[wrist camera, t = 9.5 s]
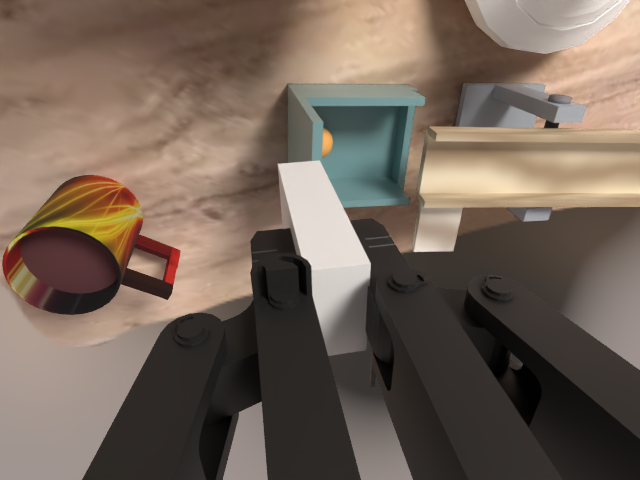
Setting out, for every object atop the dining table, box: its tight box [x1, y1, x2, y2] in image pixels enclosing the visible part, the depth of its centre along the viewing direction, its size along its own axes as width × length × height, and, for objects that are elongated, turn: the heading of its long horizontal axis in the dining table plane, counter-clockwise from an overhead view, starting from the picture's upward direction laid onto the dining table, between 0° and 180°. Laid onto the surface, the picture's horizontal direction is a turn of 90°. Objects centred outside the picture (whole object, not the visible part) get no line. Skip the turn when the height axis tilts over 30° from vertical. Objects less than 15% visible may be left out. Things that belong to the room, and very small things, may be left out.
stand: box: [455, 83, 587, 222], centre depth 48 cm, size 13×10×12 cm
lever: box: [412, 120, 640, 252], centre depth 45 cm, size 14×27×4 cm, turn 88°
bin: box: [288, 84, 426, 208], centre depth 43 cm, size 12×14×16 cm
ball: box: [322, 128, 333, 158], centre depth 47 cm, size 4×4×4 cm
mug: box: [2, 175, 180, 315], centre depth 44 cm, size 10×14×12 cm
